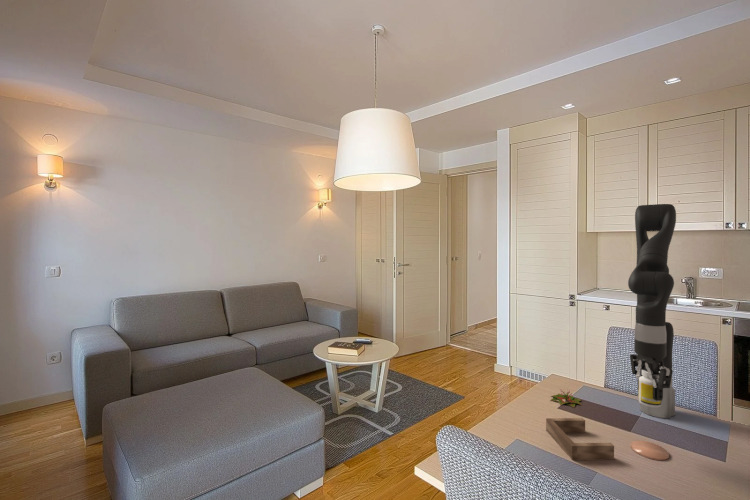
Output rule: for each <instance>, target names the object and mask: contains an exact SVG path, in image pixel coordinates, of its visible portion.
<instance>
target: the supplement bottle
mask: <svg viewBox="0 0 750 500" xmlns="http://www.w3.org/2000/svg"><path fill="white" fill-rule="evenodd" d="M642 375H643V376H641V377H639V391H638V397H637V399H638V402H639V404H640V403H641V404H643V405H645V406H649V407H660V406H661V401H656V400H654V399H653V387H654V386H653V383H652V380H651V379H650V378H649V375H648V372H647V371H645V370H643V369H642ZM654 376H659V374H657V375H654ZM656 381H657V383H658V382H659V380H658V379H656Z"/></svg>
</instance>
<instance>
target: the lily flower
mask: <svg viewBox="0 0 750 500" xmlns="http://www.w3.org/2000/svg"><path fill="white" fill-rule="evenodd" d="M559 390H560V393H557V394H553V395H552V397H553V398H551V399H550V401H554V400H555V401H554V402H558V403H559V405H560V406H562V405H567V406H569V407H572V408H575V406H576V404H578V405H581V406H583V404H582V403H581V401H582V399H580V398H578V397H576V398H575V397H574V396H573V394H572V393H571V390H569V389H567V392H565V391H563V390H562V389H561V388H559ZM568 390H569V391H568ZM569 393H570V394H569ZM569 403H570V404H569Z"/></svg>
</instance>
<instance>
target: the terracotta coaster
mask: <svg viewBox="0 0 750 500" xmlns="http://www.w3.org/2000/svg"><path fill="white" fill-rule="evenodd" d="M630 448H631V450H632V451H633V452H634V453H636V454H638V455H639V456H642V457H644V458H647V459H650V460H655V461H666V460H668V459H670V454H669V451H668V450H667V449H665V448H664V447H662V446H661V445H659V444H656V443H653V442H650V441H645V440H633V441H631V442H630Z"/></svg>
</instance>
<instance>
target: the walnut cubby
mask: <svg viewBox="0 0 750 500" xmlns="http://www.w3.org/2000/svg"><path fill="white" fill-rule="evenodd" d="M545 430H546V432H547V434H548V435H550V437H551V438H552V439H553V440H554V441H555V442H556V443H557V445H558V446H559V447H560V448H561V449H562V450H563V451H564V452H565V454H567V456H568V457H569V459H571V460H572V461H573V460H574V461H575V460H577V461H579V460H582V461H583V460H585V461H586V460H590V461H591V460H593V461H594V460H615V445H614V444H613V443H612V442H574V441H573V439H571V438H570V437H569V436H568V435H567V433H568V434H569V433H570V434H571V433H572V434H573V433H575V434H576V433H578V434H579V433H581V434H582V433H583V434H584V433H586V420H585V419H584V418H582V417H581V418H579V417H576V418H575V417H573V418H569V417H567V418H566V417H561V418H560V417H559V418H554V417H552V418H545Z"/></svg>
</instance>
